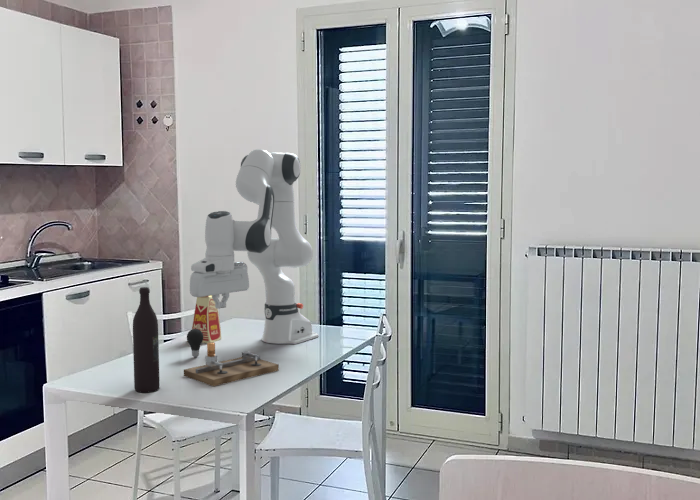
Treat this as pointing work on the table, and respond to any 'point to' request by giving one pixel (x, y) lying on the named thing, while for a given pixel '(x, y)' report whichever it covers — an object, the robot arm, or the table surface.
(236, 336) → the table surface
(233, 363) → the bar
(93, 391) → the table surface
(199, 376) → the brown wooden board
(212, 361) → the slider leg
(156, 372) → the wine bottle
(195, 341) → the black light bulb
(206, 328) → the milk carton
